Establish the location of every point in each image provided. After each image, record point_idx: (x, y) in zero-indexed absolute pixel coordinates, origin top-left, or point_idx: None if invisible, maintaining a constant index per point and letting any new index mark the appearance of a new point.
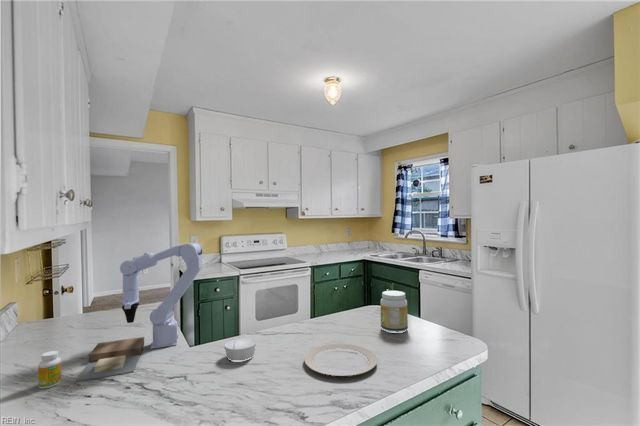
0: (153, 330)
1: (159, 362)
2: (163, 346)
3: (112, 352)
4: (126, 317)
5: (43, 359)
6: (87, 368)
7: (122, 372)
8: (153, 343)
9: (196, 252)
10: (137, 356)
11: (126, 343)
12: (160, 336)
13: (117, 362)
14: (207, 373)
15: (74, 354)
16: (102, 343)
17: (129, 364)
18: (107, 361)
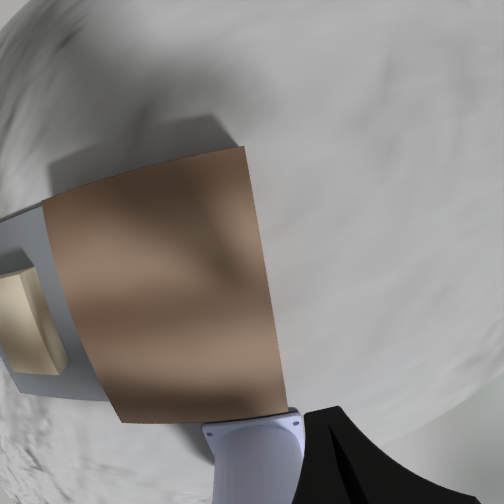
0: (229, 490)
1: (85, 446)
2: (214, 457)
3: (73, 314)
4: (304, 459)
5: None
6: (13, 230)
7: (7, 366)
8: (230, 438)
9: None
10: None
11: (187, 356)
12: (213, 485)
13: (9, 357)
14: (60, 492)
15: (217, 43)
16: (223, 184)
17: (48, 379)
18: (8, 319)
